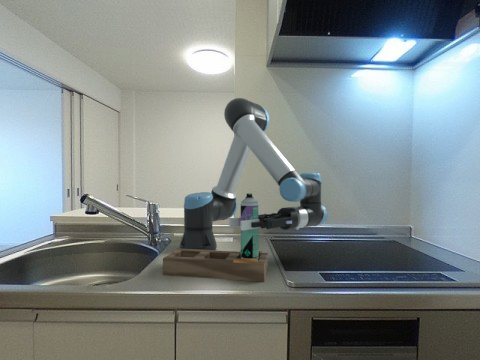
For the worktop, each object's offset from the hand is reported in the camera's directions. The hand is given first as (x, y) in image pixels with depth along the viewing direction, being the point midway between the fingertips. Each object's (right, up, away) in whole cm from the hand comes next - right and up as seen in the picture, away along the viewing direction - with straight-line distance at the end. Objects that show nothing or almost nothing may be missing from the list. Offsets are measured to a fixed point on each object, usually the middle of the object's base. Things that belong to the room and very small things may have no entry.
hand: (235, 224), depth 82 cm
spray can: (+4, -11, +3) cm, 12 cm away
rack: (-6, -16, +5) cm, 18 cm away
